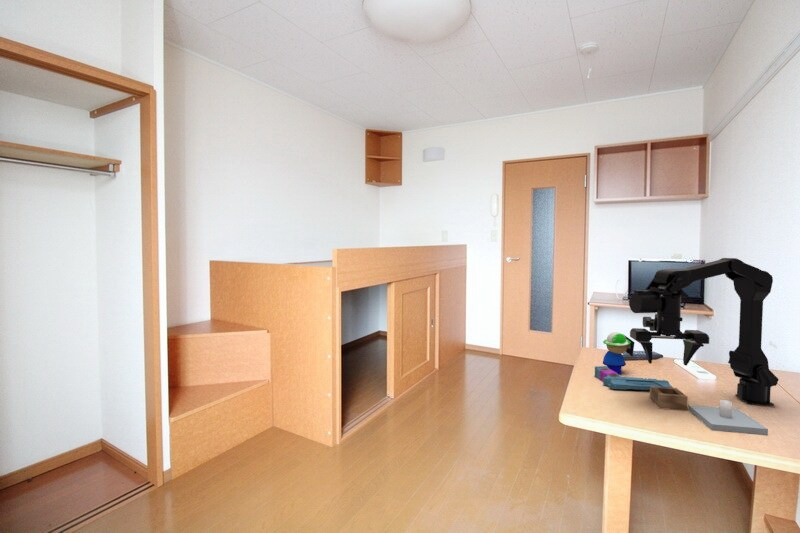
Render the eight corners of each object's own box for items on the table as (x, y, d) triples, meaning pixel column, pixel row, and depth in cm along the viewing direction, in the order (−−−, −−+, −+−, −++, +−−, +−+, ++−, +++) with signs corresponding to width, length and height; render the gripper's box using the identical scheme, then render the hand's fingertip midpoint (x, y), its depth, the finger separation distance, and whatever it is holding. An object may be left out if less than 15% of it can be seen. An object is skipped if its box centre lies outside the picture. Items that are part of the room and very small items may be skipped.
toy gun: (653, 379, 134) (675, 397, 119) (593, 376, 138) (607, 393, 123) (653, 368, 134) (675, 384, 119) (593, 365, 138) (607, 380, 123)
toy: (635, 376, 137) (636, 335, 136) (610, 376, 137) (610, 335, 136) (621, 368, 146) (622, 329, 145) (597, 368, 146) (598, 329, 145)
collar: (675, 400, 115) (676, 387, 115) (687, 410, 108) (687, 396, 108) (649, 398, 117) (650, 386, 117) (659, 408, 110) (659, 394, 110)
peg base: (737, 413, 106) (738, 394, 106) (767, 434, 94) (768, 413, 94) (688, 409, 109) (688, 391, 108) (711, 429, 97) (712, 409, 97)
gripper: (691, 308, 117) (689, 357, 118) (624, 307, 122) (623, 354, 123) (711, 315, 107) (709, 369, 107) (637, 313, 111) (636, 365, 112)
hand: (667, 364), depth 113 cm, fingers open, 9 cm apart
